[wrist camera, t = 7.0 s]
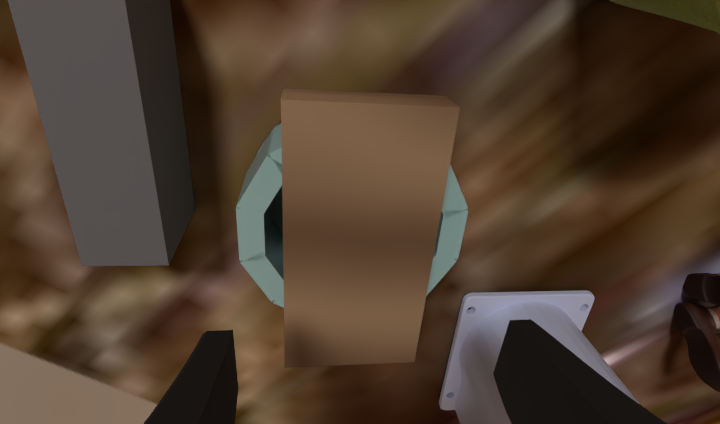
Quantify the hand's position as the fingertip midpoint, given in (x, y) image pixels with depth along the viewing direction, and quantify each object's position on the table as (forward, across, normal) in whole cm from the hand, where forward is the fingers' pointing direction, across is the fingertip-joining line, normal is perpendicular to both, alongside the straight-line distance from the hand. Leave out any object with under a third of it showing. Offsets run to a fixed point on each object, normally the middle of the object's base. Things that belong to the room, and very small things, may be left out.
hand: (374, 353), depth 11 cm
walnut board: (+6, 0, 0) cm, 6 cm away
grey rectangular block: (+10, +8, -4) cm, 14 cm away
